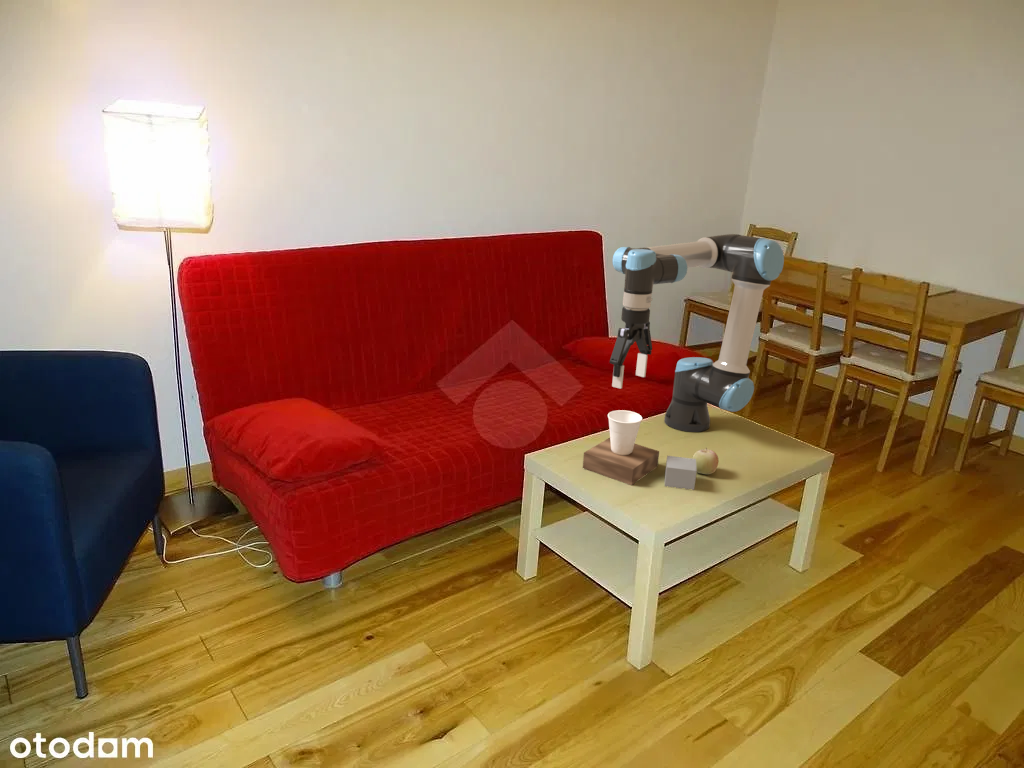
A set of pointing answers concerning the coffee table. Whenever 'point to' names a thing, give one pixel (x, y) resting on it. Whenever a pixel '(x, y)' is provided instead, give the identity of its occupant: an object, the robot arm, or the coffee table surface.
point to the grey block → (680, 472)
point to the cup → (623, 430)
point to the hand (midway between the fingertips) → (629, 381)
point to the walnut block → (621, 462)
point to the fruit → (706, 461)
